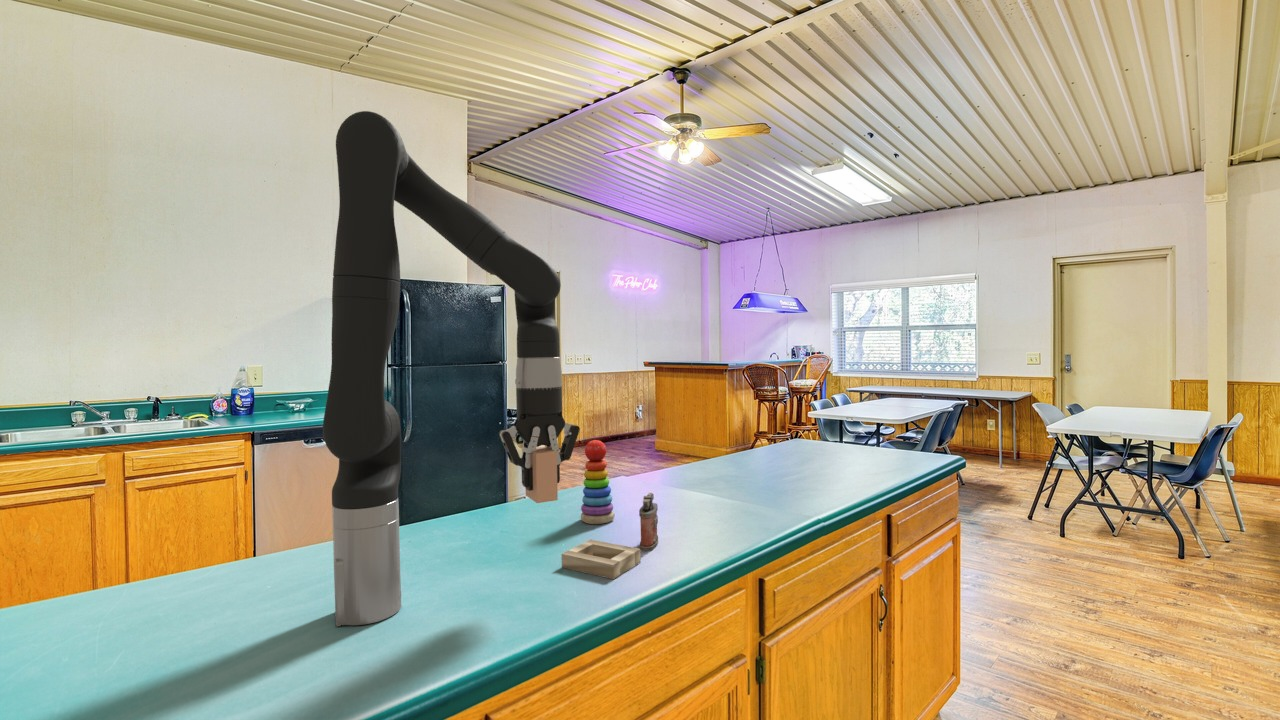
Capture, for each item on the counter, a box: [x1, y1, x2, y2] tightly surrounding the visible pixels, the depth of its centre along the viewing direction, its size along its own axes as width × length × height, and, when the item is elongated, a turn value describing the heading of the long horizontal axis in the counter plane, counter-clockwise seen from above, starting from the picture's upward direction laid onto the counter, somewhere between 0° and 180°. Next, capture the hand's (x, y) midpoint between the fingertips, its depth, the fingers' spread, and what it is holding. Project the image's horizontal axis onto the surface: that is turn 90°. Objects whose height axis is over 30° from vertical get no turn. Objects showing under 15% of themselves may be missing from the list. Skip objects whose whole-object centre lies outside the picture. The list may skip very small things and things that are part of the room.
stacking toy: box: [580, 439, 615, 525], centre depth 135 cm, size 8×8×19 cm
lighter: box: [638, 492, 659, 552], centre depth 117 cm, size 8×3×10 cm, turn 168°
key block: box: [524, 445, 559, 504], centre depth 96 cm, size 4×6×8 cm, turn 29°
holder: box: [561, 539, 642, 580], centre depth 107 cm, size 9×12×2 cm
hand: (541, 487), depth 96 cm, fingers closed on key block, 3 cm apart
